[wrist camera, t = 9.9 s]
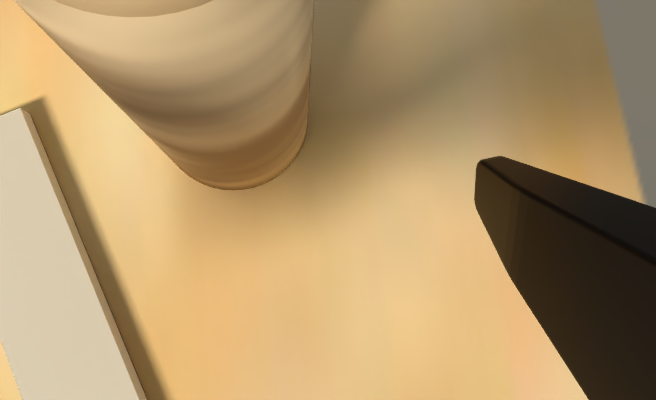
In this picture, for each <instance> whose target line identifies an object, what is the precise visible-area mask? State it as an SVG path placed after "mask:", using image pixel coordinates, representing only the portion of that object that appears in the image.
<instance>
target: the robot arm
mask: <svg viewBox="0 0 656 400" xmlns="http://www.w3.org/2000/svg"><path fill="white" fill-rule="evenodd" d="M474 200H475V206H476V209H477V211H478V214H479V216H480V218H481V220H482V222H483V224H484V226H485V228H486V230H487V232H488V234H489V236H490V238H491V240H492V242H493V244H494V246H495V248H496V250H497V253H498V255H499V257H500V259H501V261H502V263H503V265H504V267H505V269H506V271H507V273H508V274H509V276H510V278H511V280H512V281H513V283H514V284H515V286H516V288H517V289H518V291H519V292H520V294H521V295H522V297H523V299H524V300H525V302H526V303H527V305H528V306H529V308H530V309H531V311H532V313H533V314H534V316H535V317H536V319H537V320H538V322H539V323H540V325H541V326H542V328H543V330H544V331H545V333H546V334H547V336H548V337H549V339H550V340H551V342H552V344H553V345H554V347H555V348H556V350H557V351H558V353H559V354H560V356H561V357H562V359H563V361H564V362H565V364H566V365H567V367H568V368H569V370H570V371H571V373H572V375H573V376H574V378H575V379H576V381H577V382H578V384H579V385H580V387H581V388H582V390H583V392H584V393H585V395H586V396H587V398H588V399H589V400H656V208H654V207H651V206H648V205H645V204H642V203H639V202H636V201H633V200H630V199H627V198H625V197H622V196H619V195H616V194H613V193H610V192H607V191H604V190H601V189H598V188H595V187H592V186H589V185H586V184H583V183H580V182H577V181H574V180H571V179H568V178H565V177H562V176H559V175H556V174H553V173H550V172H547V171H544V170H542V169H539V168H536V167H533V166H530V165H527V164H524V163H521V162H518V161H515V160H512V159H509V158H506V157H503V156H496V157H492V158H487V159H483V160H480V161H479V162H478V164H477V167H476V180H475V196H474Z"/></svg>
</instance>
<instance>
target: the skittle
mask: <svg viewBox="0 0 656 400" xmlns="http://www.w3.org/2000/svg"><path fill="white" fill-rule="evenodd" d="M14 1H15V2H16V3H17V4H18V5H19V6H20V7H21V8H22V9H23V10H24V11H25V12H26V13H27V14H28V15H29V16H30V17H31V18H32V19H33V20H34V21H35V22H36V23H37V24H38V25H39V26H40V27H41V28H42V29H43V30H44V31H45V32H46V33H47V34H48V35H49V37H50V38H51V39H52V40H53V41H54V42H55V43H56V44H57V45H58V46H59V47H60V48H61V49H62V50H63V51H64V52H65V53H66V54H67V55H68V56H69V57H70V58H71V59H72V60H73V61H74V62H75V63H76V64H77V65H78V66H79V67H80V68H81V69H82V70H83V71H84V72H85V73H86V74H87V75H88V76H89V77H90V78H91V79H92V80H93V81H94V82H95V83H96V84H97V85H98V86H99V87H100V88H101V89H102V90H103V91H104V92H105V93H106V94H107V95H108V96H109V97H110V98H111V99H112V100H113V101H114V102H115V103H116V104H117V105H118V106H119V107H120V108H121V109H122V110H123V111H124V112H125V113H126V114H127V115H128V116H129V117H130V118H131V119H132V120H133V121H134V122H135V123H136V124H137V125H138V126H139V127H140V128H141V129H142V130H143V131H144V132H145V133H146V135H147V136H148V137H149V138H150V139H151V140H152V141H153V142H154V143H155V144H156V145H157V146H158V147H159V148H160V149H161V150H162V151H163V152H164V153H165V154H166V155H167V156H168V157H169V158H170V159H171V160H172V161H173V162H174V163H175V164H176V165H177V166H178V167H179V168H180V169H181V170H182V171H184V172H185V173H186V174H187V175H188V176H190V177H191V178H193V179H194V180H196V181H198V182H200V183H202V184H204V185H207V186H210V187H213V188H218V189H224V190H242V189H248V188H253V187H256V186H259V185H262V184H264V183H266V182H268V181H270V180H272V179H274V178H275V177H277V176H278V175H280V174H281V173H282V172H283V171H284V170H285V169H287V167H288V166H289V165H290V164H291V163H292V162H293V161H294V159H295V158H296V156H297V155H298V153H299V151H300V149H301V147H302V145H303V142H304V139H305V136H306V131H307V121H308V103H309V85H310V67H311V49H312V31H313V13H314V0H14Z"/></svg>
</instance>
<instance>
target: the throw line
mask: <svg viewBox="0 0 656 400" xmlns="http://www.w3.org/2000/svg"><path fill="white" fill-rule="evenodd" d="M0 341H1V343H2V346H3V349H4V351H5V354H6V357H7V359H8V362H9V365H10V367H11V370H12V373H13V375H14V378H15V381H16V383H17V386H18V389H19V391H20V394H21V397H22V399H23V400H147V399H146V396H145V394H144V391H143V389H142V386H141V384H140V382H139V379H138V377H137V374H136V372H135V369H134V367H133V364H132V362H131V360H130V357H129V355H128V352H127V350H126V347H125V345H124V342H123V340H122V338H121V335H120V333H119V330H118V328H117V325H116V323H115V321H114V318H113V316H112V313H111V311H110V308H109V306H108V303H107V301H106V299H105V296H104V294H103V291H102V289H101V286H100V284H99V281H98V279H97V277H96V274H95V272H94V269H93V267H92V264H91V262H90V260H89V257H88V255H87V252H86V250H85V247H84V245H83V242H82V240H81V238H80V235H79V233H78V230H77V228H76V225H75V223H74V220H73V218H72V216H71V213H70V211H69V208H68V206H67V203H66V201H65V199H64V196H63V194H62V191H61V189H60V186H59V184H58V181H57V179H56V177H55V174H54V172H53V169H52V167H51V164H50V162H49V159H48V157H47V155H46V152H45V150H44V147H43V145H42V142H41V140H40V138H39V135H38V133H37V130H36V128H35V125H34V123H33V120H32V118H31V116H30V114H29V113H28V112H26V111H24V110H23V109H21V108H18V109H16V110H13V111H11V112H8V113H6V114H3V115H1V116H0Z"/></svg>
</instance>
